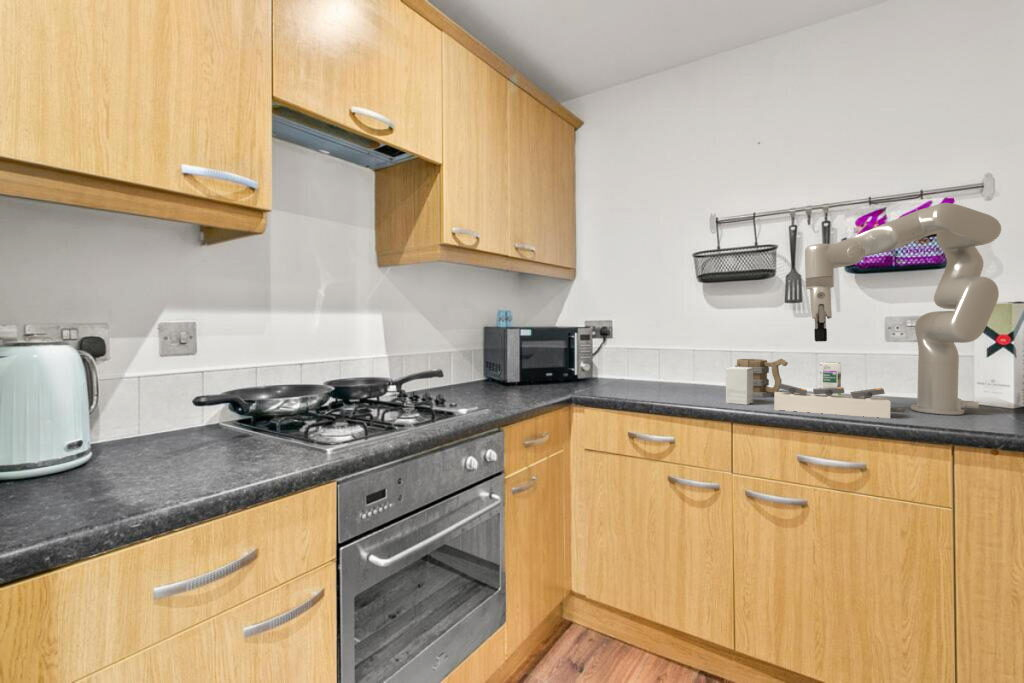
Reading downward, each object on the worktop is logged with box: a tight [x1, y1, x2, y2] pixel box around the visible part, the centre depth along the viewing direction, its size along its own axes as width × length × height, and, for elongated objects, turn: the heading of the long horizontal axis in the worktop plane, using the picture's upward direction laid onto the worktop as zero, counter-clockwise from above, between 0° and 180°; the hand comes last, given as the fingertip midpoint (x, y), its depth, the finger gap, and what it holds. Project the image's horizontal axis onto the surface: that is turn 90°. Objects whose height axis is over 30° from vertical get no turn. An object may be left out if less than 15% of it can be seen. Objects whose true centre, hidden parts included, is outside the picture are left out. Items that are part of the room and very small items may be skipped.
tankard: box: [734, 358, 788, 398], centre depth 186 cm, size 20×13×15 cm, turn 30°
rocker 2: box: [812, 386, 845, 396], centre depth 152 cm, size 8×4×2 cm, turn 61°
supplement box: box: [725, 366, 754, 406], centre depth 170 cm, size 7×7×13 cm
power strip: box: [773, 391, 906, 419], centre depth 151 cm, size 34×8×5 cm, turn 61°
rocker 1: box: [778, 382, 808, 395], centre depth 157 cm, size 8×4×2 cm, turn 61°
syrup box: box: [819, 361, 842, 395], centre depth 168 cm, size 6×6×14 cm
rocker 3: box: [850, 387, 886, 398], centre depth 147 cm, size 8×4×2 cm, turn 61°
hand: (820, 341), depth 153 cm, fingers closed
